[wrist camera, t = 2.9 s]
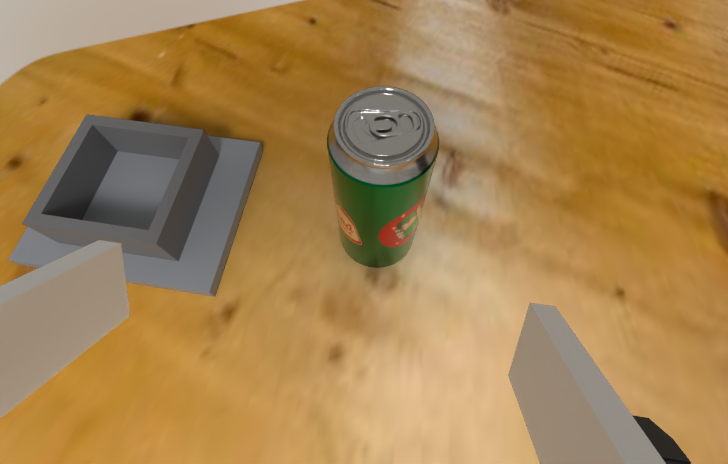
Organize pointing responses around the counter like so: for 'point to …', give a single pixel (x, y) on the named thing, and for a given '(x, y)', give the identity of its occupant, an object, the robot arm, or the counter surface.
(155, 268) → the mount
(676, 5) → the counter surface
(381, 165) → the soda can
